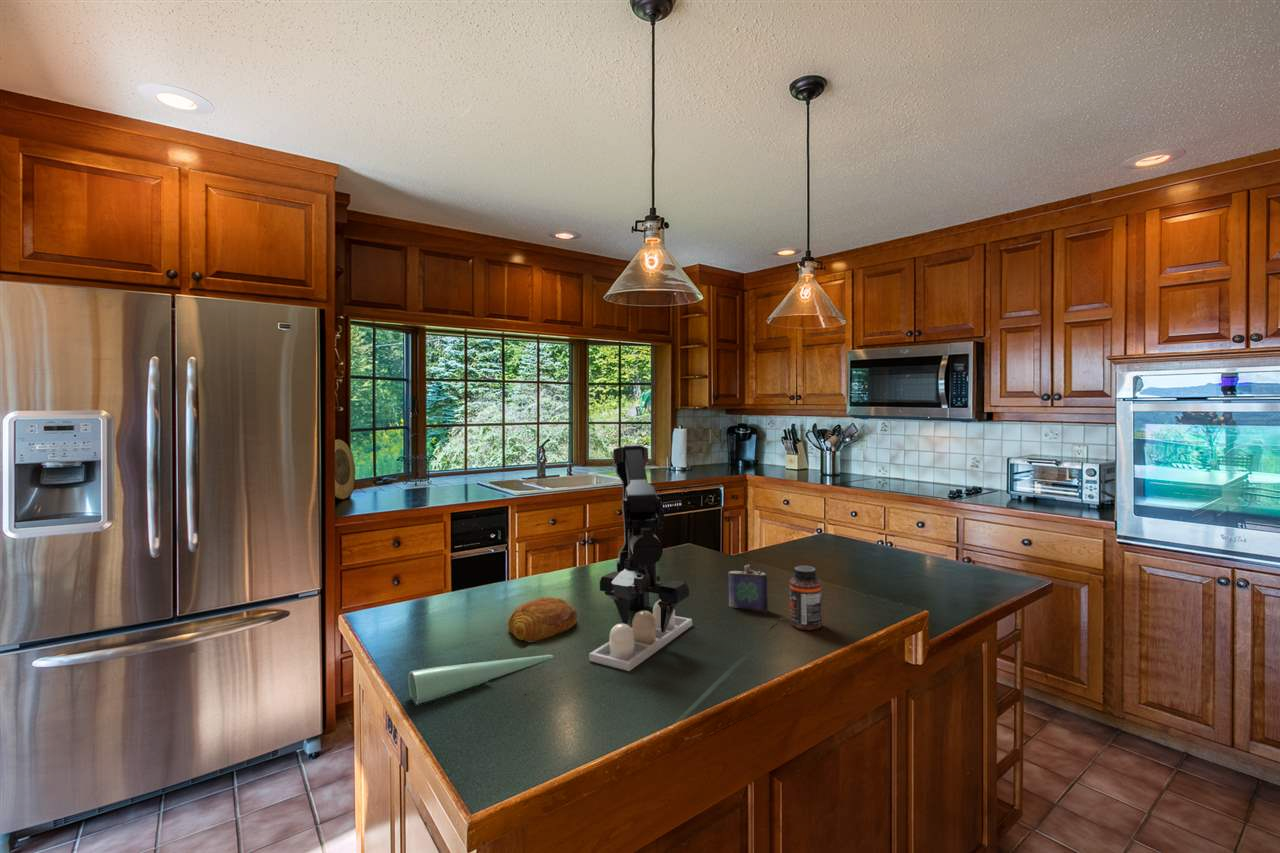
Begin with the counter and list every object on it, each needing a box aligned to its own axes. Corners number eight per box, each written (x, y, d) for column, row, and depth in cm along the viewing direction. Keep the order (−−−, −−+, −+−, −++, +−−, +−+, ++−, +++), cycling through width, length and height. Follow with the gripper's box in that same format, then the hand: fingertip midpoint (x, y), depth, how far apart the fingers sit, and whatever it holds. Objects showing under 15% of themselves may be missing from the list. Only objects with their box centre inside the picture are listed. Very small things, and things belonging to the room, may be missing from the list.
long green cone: (559, 637, 112) (416, 678, 96) (560, 665, 112) (417, 710, 96) (546, 629, 116) (407, 666, 100) (547, 656, 116) (408, 698, 101)
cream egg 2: (649, 630, 126) (648, 601, 126) (660, 623, 130) (659, 594, 130) (668, 634, 124) (667, 604, 124) (679, 626, 128) (678, 598, 128)
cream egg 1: (605, 658, 112) (604, 626, 112) (618, 649, 116) (618, 618, 116) (625, 664, 110) (624, 630, 110) (639, 654, 114) (638, 622, 114)
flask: (728, 609, 140) (727, 565, 140) (730, 605, 143) (729, 562, 142) (767, 613, 137) (766, 568, 137) (768, 609, 140) (767, 564, 139)
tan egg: (640, 635, 123) (639, 605, 123) (660, 640, 121) (659, 609, 121) (628, 643, 119) (627, 612, 119) (648, 648, 117) (647, 616, 117)
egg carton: (589, 663, 112) (589, 653, 112) (656, 620, 133) (656, 612, 133) (629, 674, 107) (628, 663, 107) (692, 628, 129) (692, 619, 129)
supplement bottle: (785, 620, 132) (784, 564, 131) (814, 619, 132) (814, 563, 132) (796, 632, 125) (795, 572, 124) (826, 630, 125) (826, 571, 125)
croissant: (587, 638, 130) (591, 602, 131) (530, 649, 119) (534, 610, 120) (548, 621, 140) (552, 587, 141) (492, 630, 129) (496, 594, 130)
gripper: (582, 556, 118) (584, 632, 118) (662, 568, 108) (664, 651, 108) (613, 545, 127) (615, 615, 128) (689, 554, 117) (691, 630, 118)
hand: (644, 627), depth 120 cm, fingers open, 9 cm apart
